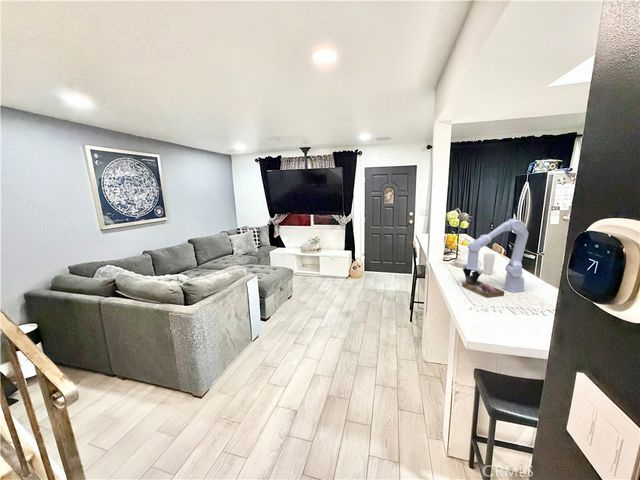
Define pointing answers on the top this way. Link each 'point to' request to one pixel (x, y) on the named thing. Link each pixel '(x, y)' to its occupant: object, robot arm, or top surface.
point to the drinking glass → (488, 263)
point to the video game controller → (487, 288)
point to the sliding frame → (470, 284)
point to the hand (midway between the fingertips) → (471, 280)
